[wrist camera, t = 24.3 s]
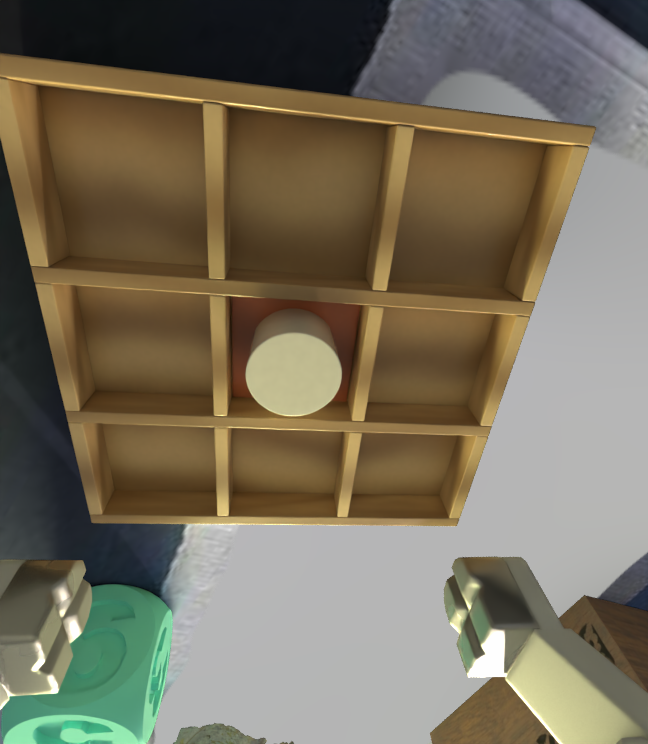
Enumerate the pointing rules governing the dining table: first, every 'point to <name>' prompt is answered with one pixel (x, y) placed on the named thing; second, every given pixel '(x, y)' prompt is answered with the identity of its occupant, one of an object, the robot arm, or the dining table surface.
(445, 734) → the tissue box cover
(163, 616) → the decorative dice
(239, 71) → the dining table surface
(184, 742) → the rock
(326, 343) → the white cylinder
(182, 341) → the board
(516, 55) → the dining table surface
